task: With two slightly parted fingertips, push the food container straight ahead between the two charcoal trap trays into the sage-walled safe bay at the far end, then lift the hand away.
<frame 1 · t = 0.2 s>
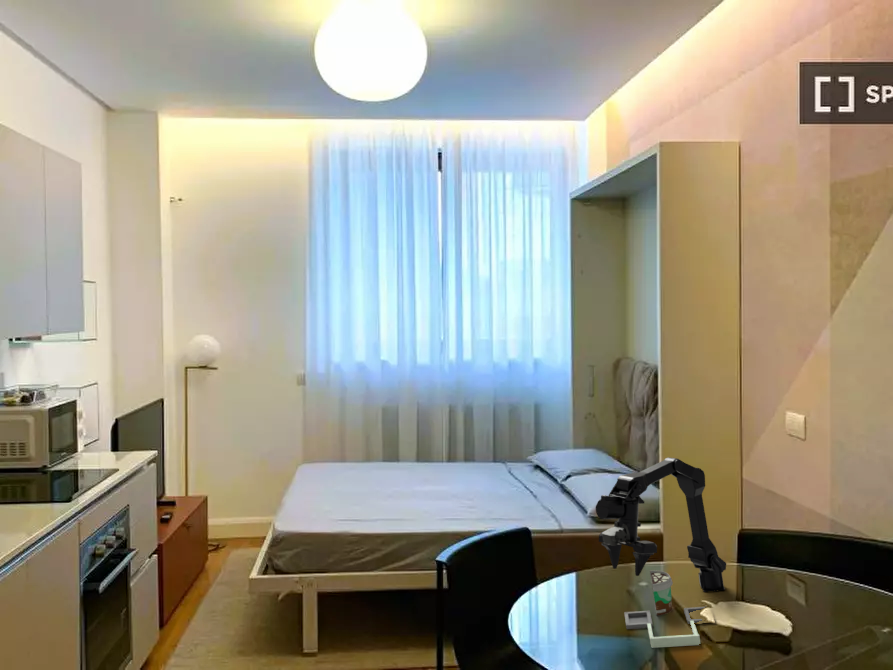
hand: (625, 572, 222), 15 cm above the table, tool pointing down, fingers open, 9 cm apart
food container: (665, 609, 229), on the table
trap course: (670, 625, 217), on the table
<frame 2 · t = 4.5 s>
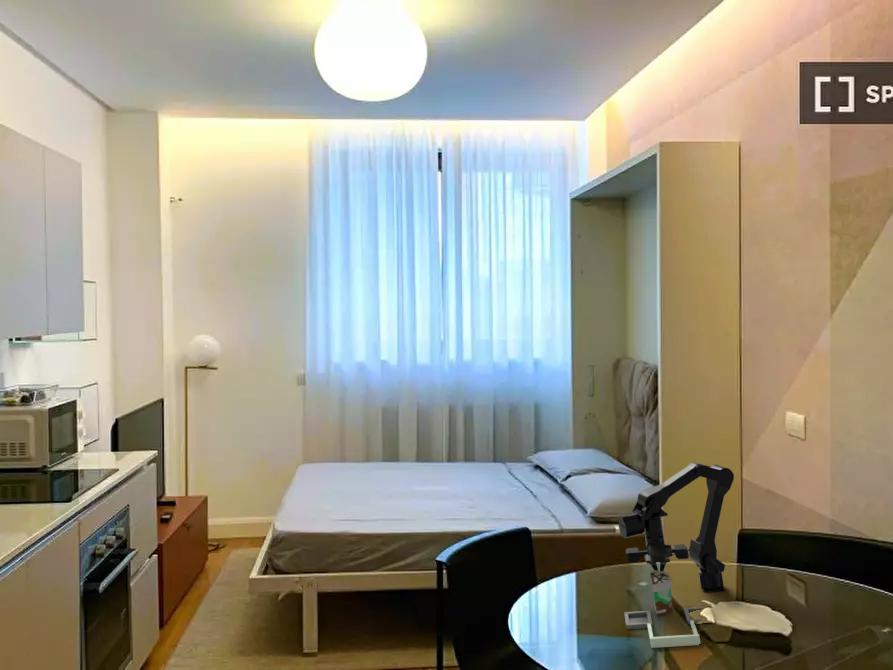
hand: (660, 580, 236), 6 cm above the table, tool pointing down, fingers closed
food container: (665, 609, 228), on the table, touching gripper
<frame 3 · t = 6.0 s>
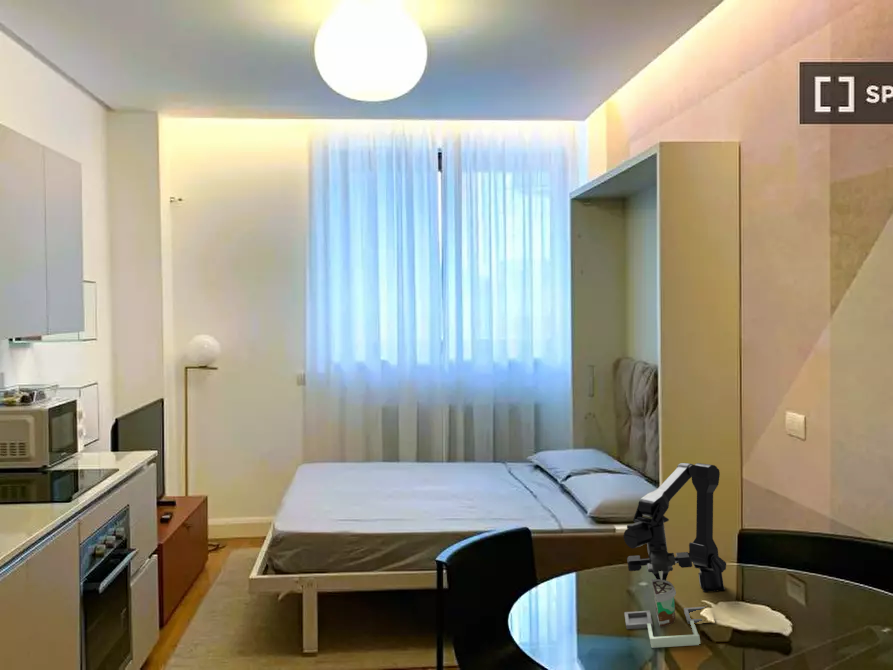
hand: (662, 588, 228), 6 cm above the table, tool pointing down, fingers closed
food container: (668, 619, 221), on the table, touching gripper
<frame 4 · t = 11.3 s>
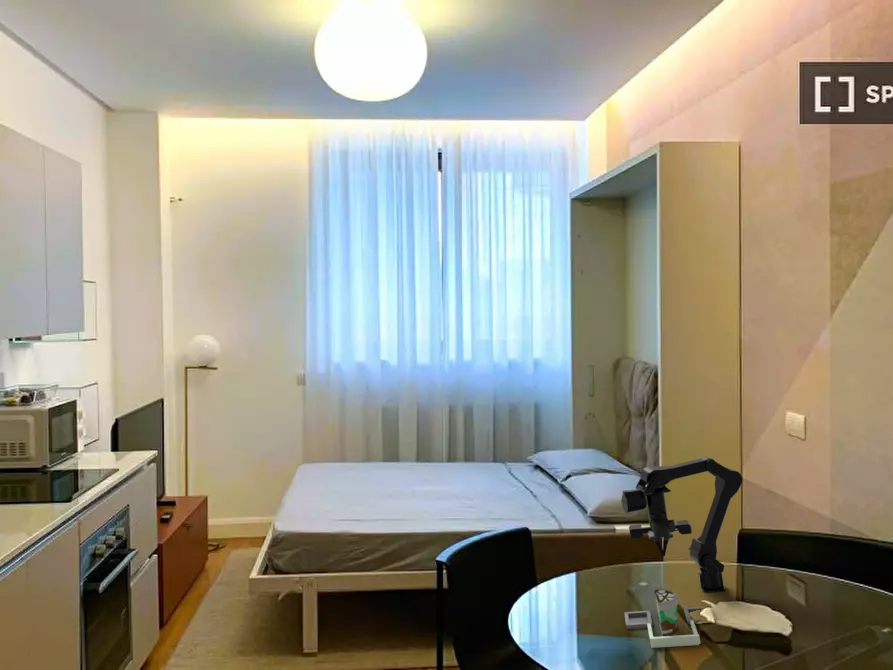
hand: (663, 556, 237), 13 cm above the table, tool pointing down, fingers closed
food container: (671, 629, 215), on the table
at the end: food container inside the target area (2.2 cm from its centre), on the table; food container tilted 0°; food container moved 13.8 cm from its start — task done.
